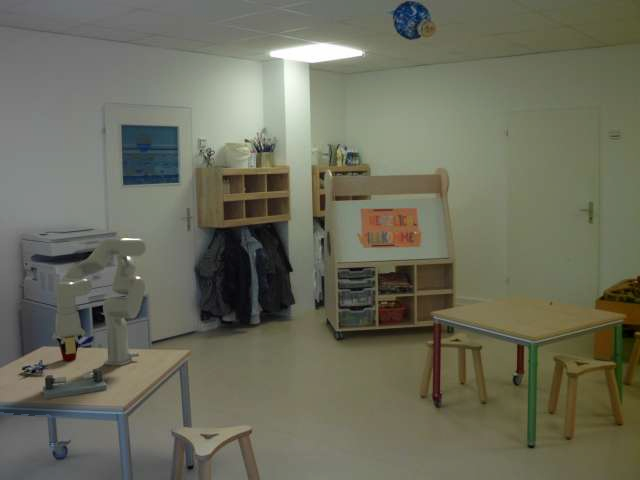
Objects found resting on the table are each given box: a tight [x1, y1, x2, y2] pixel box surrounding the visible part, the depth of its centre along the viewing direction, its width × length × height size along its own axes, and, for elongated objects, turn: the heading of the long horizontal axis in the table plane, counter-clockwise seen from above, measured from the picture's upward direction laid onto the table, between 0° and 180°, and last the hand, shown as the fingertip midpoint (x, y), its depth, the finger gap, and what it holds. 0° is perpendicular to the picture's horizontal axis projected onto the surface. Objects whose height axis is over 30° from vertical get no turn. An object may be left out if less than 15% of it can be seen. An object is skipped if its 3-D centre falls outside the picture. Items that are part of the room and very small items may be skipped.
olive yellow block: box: [64, 336, 77, 354], centre depth 299 cm, size 5×4×7 cm
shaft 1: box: [44, 374, 67, 390], centre depth 285 cm, size 8×4×5 cm, turn 102°
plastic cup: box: [56, 335, 78, 362], centre depth 334 cm, size 11×11×12 cm
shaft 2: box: [81, 367, 104, 383], centre depth 291 cm, size 8×4×5 cm, turn 132°
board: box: [42, 378, 108, 400], centre depth 288 cm, size 24×11×2 cm, turn 117°
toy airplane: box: [17, 359, 49, 378], centre depth 312 cm, size 13×14×4 cm
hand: (70, 350), depth 300 cm, fingers closed on olive yellow block, 4 cm apart
